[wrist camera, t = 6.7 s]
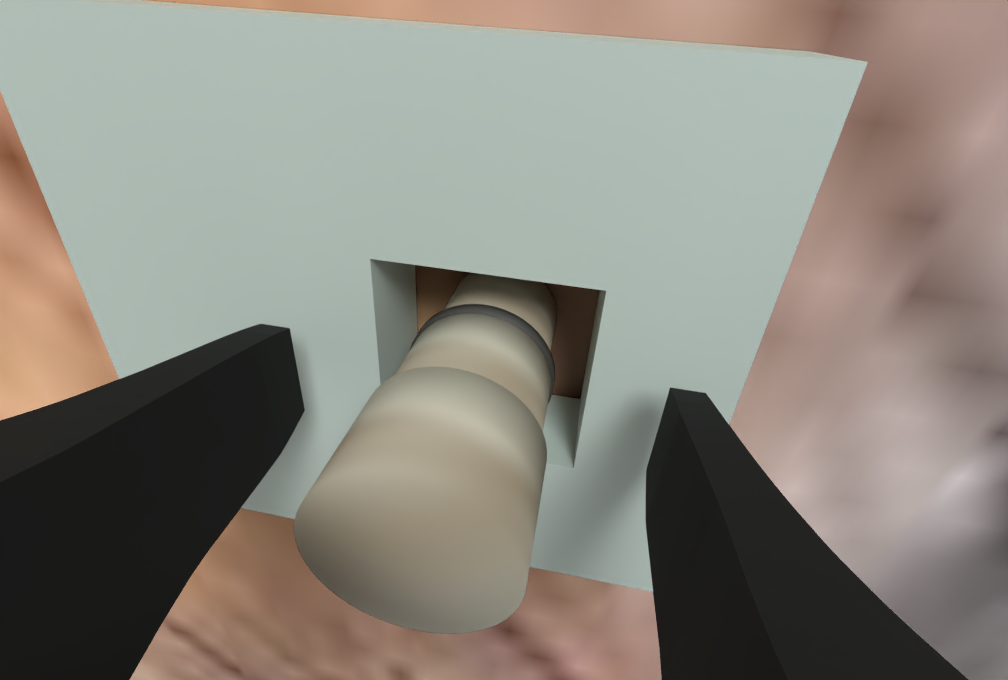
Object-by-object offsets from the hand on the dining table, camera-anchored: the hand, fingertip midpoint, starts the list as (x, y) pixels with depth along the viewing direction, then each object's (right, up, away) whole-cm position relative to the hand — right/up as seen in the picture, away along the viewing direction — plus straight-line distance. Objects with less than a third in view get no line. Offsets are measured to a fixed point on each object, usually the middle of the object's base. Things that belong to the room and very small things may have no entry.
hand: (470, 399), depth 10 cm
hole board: (-1, +2, +3) cm, 4 cm away
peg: (+1, +2, +3) cm, 3 cm away
